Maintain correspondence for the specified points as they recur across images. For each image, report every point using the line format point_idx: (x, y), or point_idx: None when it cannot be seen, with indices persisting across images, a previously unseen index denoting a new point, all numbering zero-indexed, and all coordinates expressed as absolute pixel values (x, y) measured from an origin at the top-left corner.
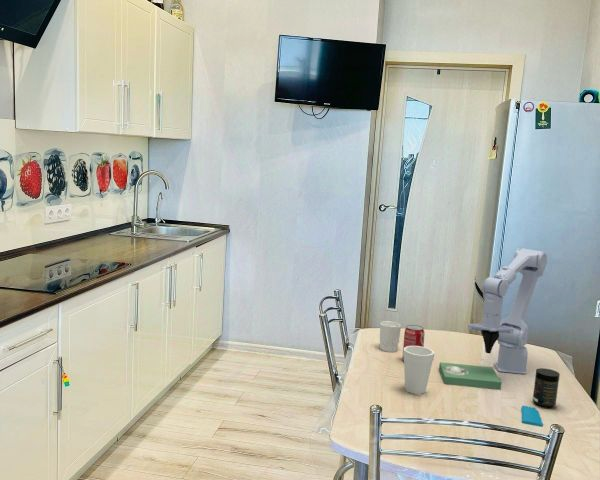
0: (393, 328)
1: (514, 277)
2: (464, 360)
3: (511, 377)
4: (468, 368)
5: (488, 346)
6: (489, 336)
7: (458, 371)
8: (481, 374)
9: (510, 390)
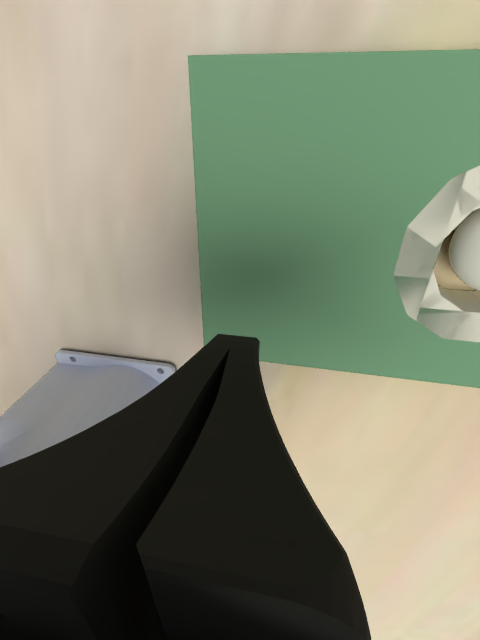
0: None
1: None
2: (304, 466)
3: (121, 306)
4: (369, 315)
5: (232, 376)
6: (188, 526)
7: None
8: (310, 215)
9: (139, 74)
